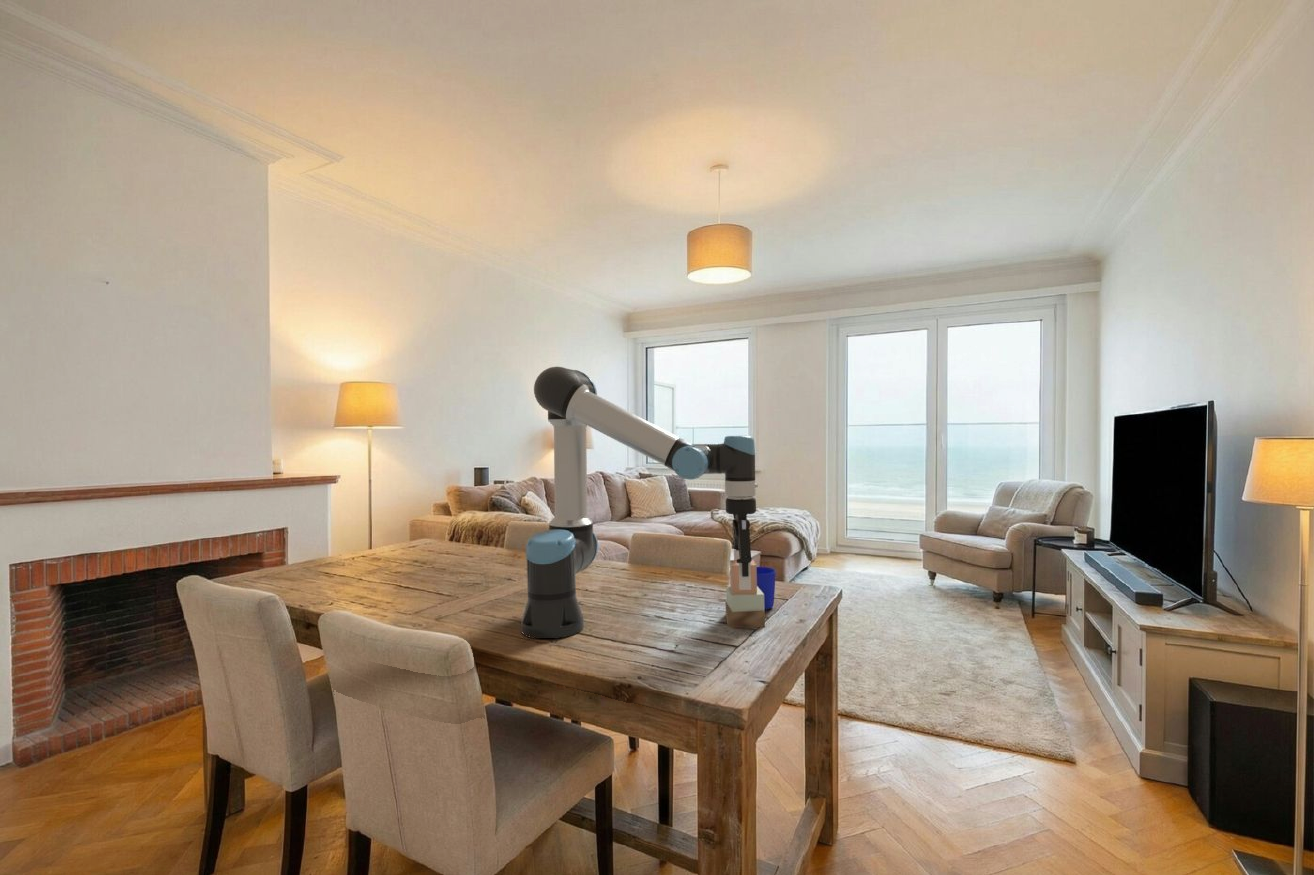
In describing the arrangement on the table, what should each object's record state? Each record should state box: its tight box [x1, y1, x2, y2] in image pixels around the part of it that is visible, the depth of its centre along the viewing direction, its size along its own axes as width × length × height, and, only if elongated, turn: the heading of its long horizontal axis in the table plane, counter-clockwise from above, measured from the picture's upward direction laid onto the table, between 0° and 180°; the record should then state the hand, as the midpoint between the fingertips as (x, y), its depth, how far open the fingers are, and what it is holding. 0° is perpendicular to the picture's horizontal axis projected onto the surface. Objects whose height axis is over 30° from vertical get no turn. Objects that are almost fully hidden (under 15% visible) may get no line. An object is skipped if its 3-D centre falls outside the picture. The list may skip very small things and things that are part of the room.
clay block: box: [729, 559, 757, 594], centre depth 150 cm, size 6×6×7 cm
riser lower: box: [725, 600, 766, 628], centre depth 150 cm, size 9×9×4 cm
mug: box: [756, 566, 777, 611], centre depth 163 cm, size 8×12×10 cm
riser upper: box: [725, 586, 765, 612], centre depth 150 cm, size 8×8×4 cm
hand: (742, 582), depth 150 cm, fingers open, 13 cm apart
